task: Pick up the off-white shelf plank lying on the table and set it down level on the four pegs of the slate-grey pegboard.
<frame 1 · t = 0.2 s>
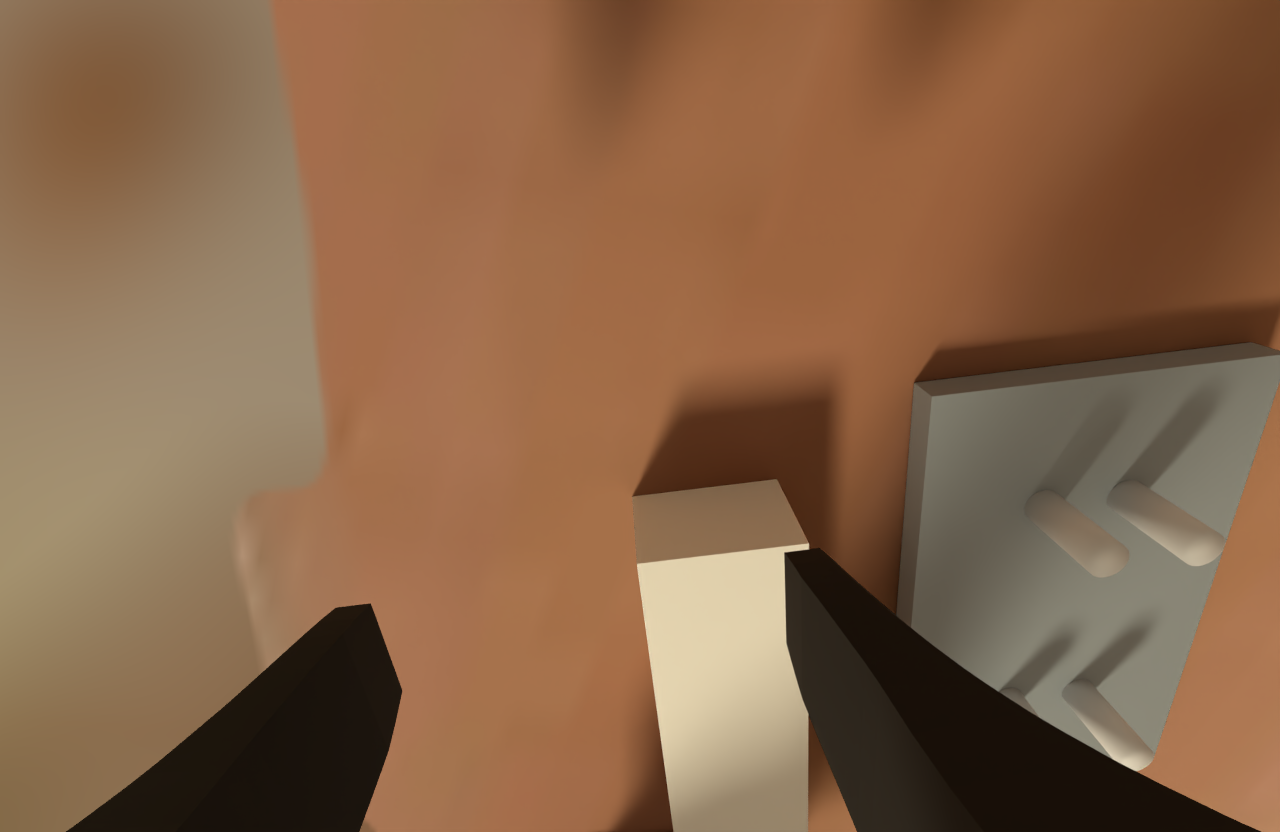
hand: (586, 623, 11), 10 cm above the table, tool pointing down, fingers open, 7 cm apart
shelf plank: (715, 636, 24), on the table
pegboard: (1040, 584, 24), on the table
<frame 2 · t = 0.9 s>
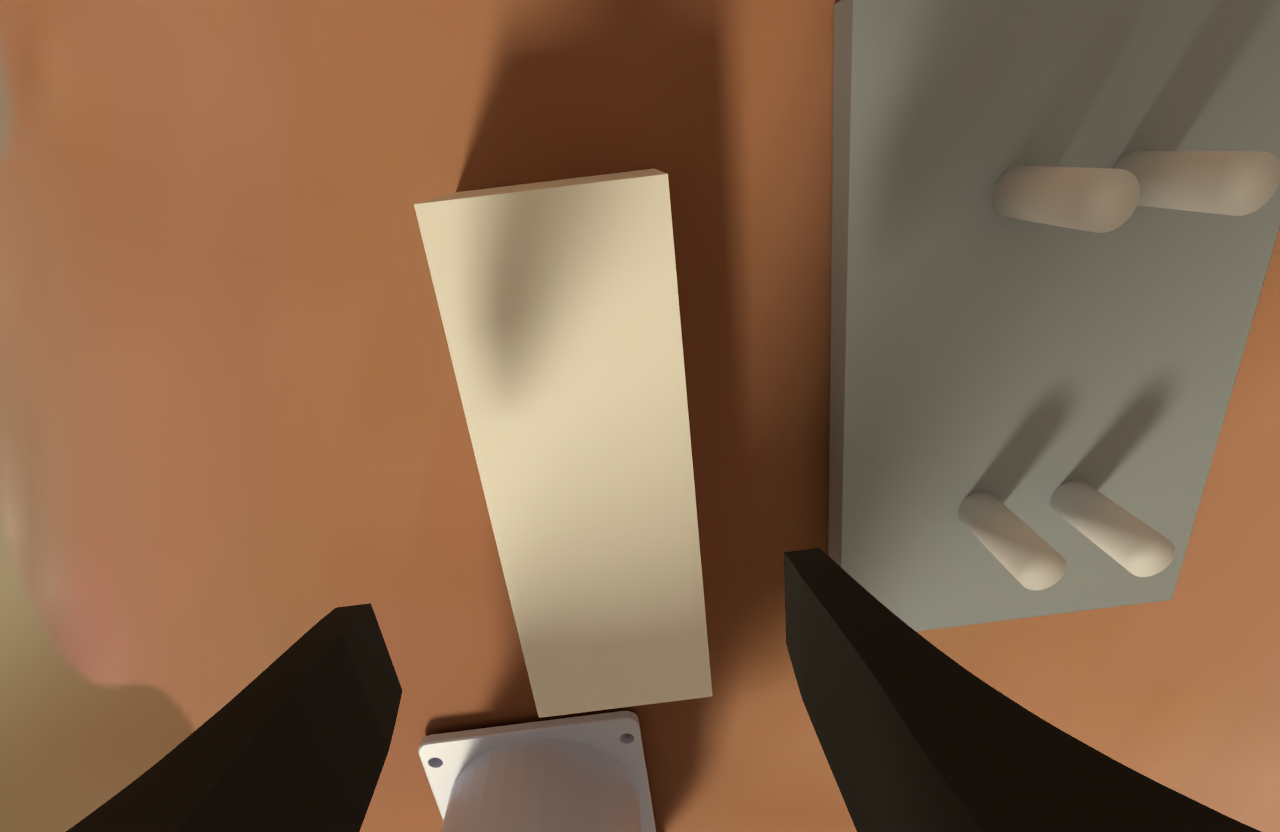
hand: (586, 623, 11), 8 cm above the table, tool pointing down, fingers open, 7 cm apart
shelf plank: (594, 427, 19), on the table
pegboard: (1019, 347, 18), on the table
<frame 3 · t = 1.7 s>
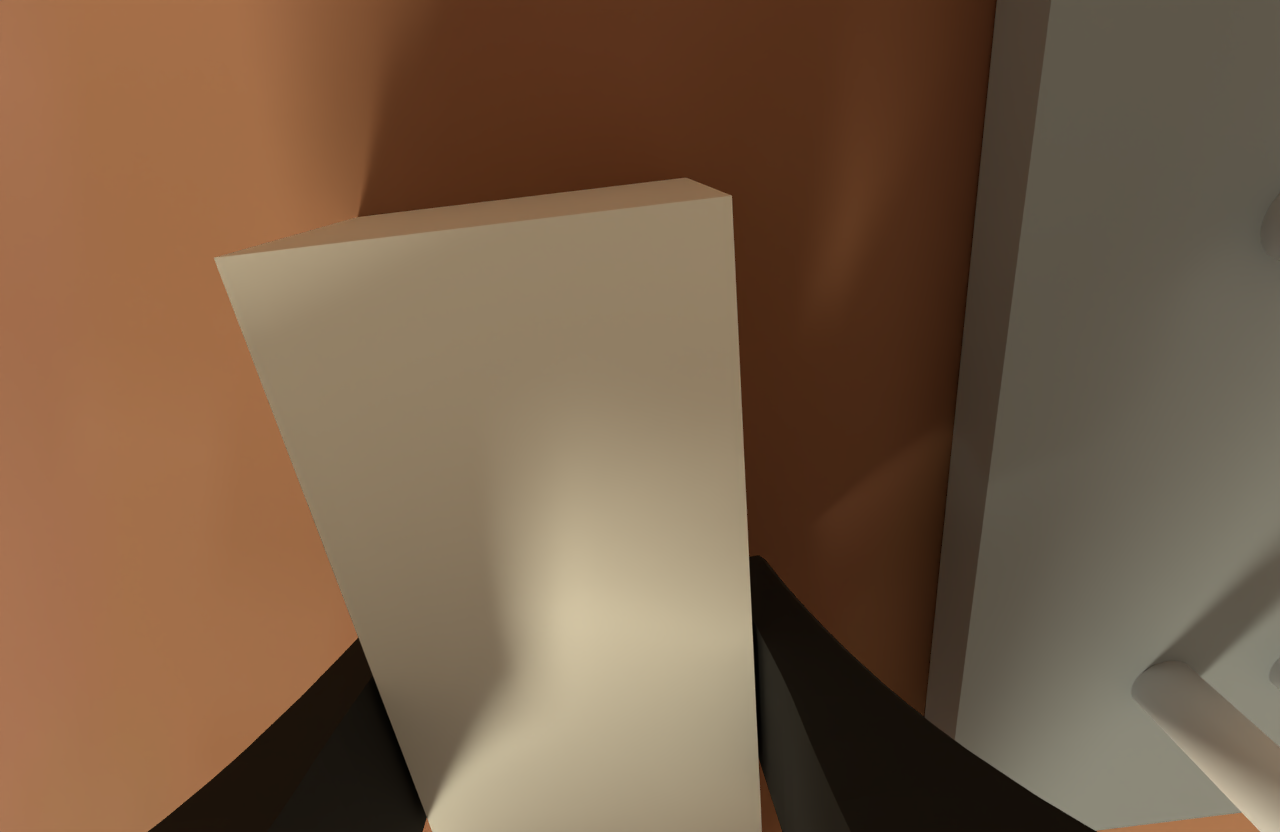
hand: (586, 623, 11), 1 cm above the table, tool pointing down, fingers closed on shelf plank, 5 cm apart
shelf plank: (588, 563, 12), on the table, touching gripper
pegboard: (1236, 449, 12), on the table
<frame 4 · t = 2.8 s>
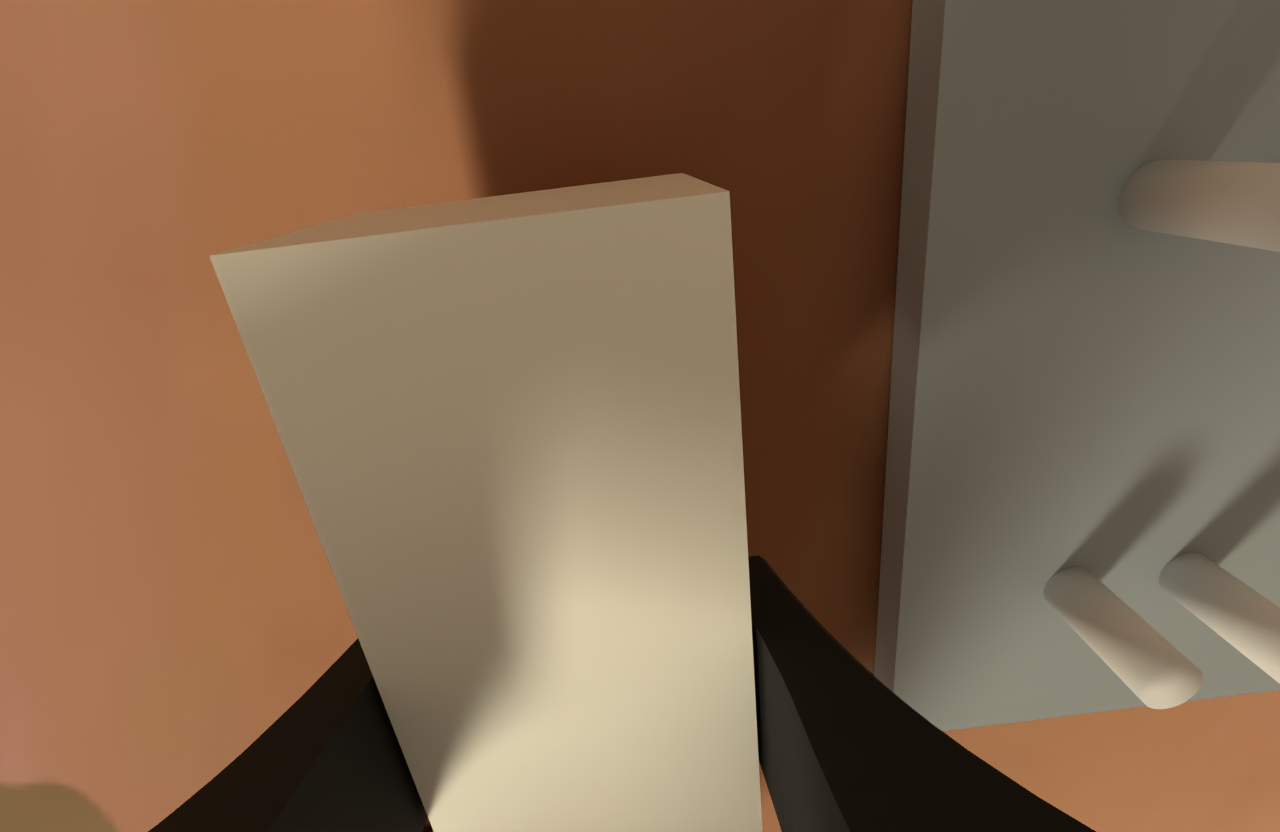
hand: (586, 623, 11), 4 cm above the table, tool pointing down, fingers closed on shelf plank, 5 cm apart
shelf plank: (588, 561, 12), point 2 cm above the table, touching gripper
pegboard: (1126, 389, 14), on the table
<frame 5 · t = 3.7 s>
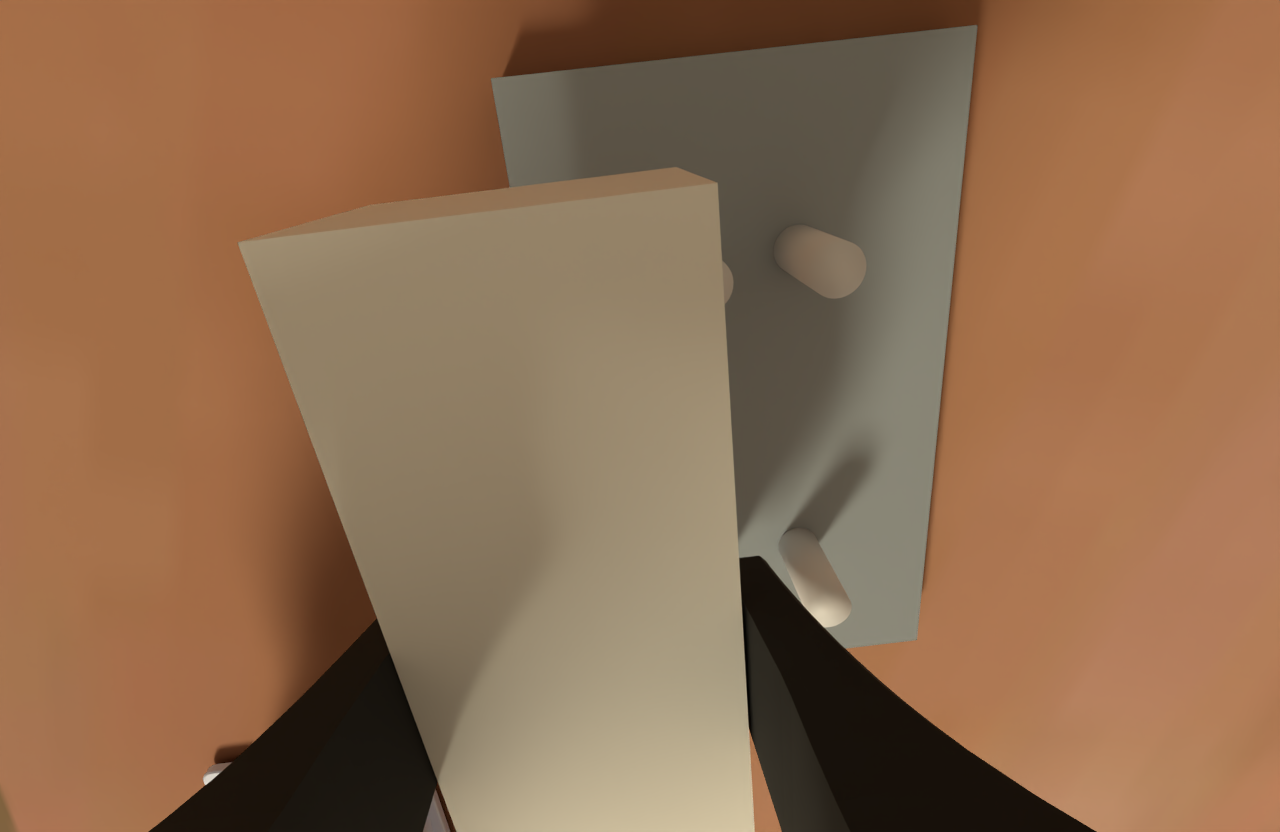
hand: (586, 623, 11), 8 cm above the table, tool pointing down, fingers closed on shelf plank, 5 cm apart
shelf plank: (586, 540, 13), point 6 cm above the table, touching gripper
pegboard: (739, 401, 19), on the table
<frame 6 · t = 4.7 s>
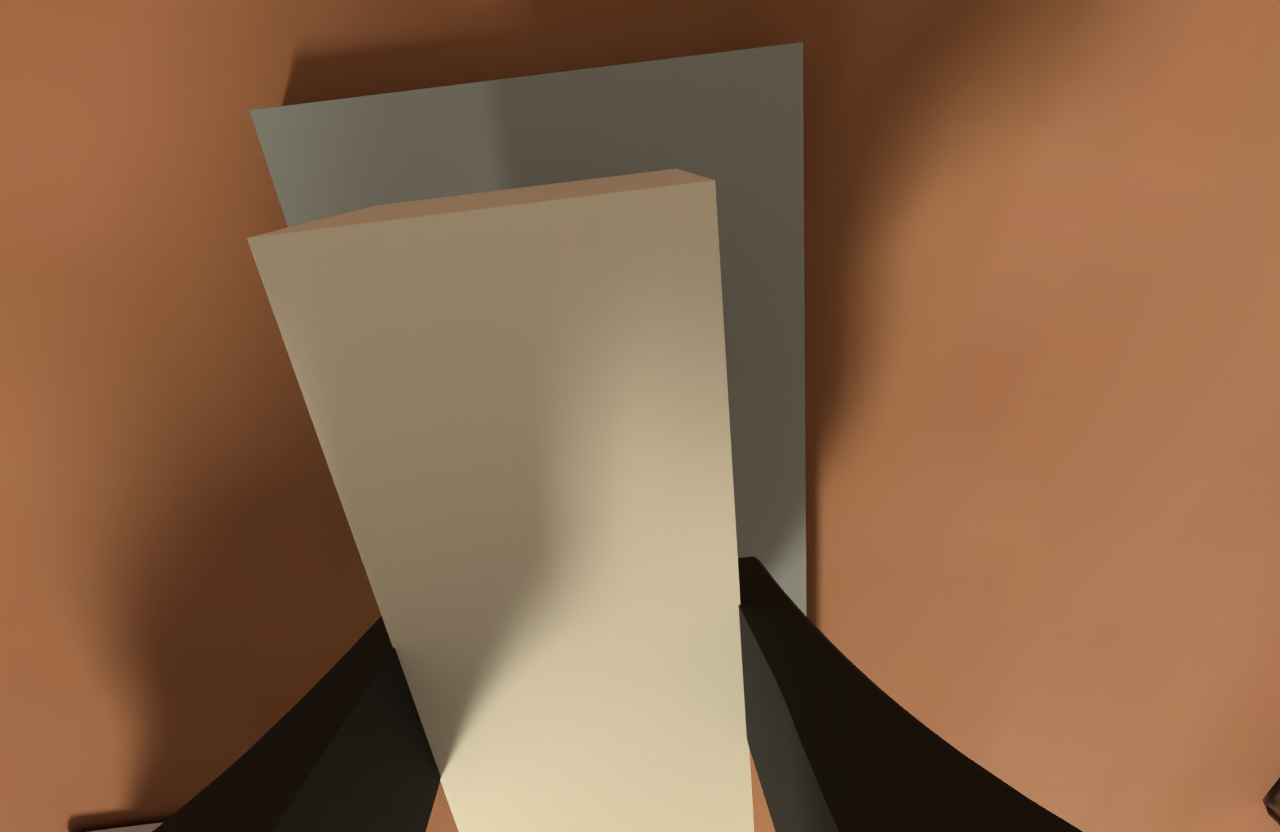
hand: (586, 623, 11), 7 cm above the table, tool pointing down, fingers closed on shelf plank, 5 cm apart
shelf plank: (587, 539, 13), point 4 cm above the table, touching gripper, pegboard
pegboard: (592, 452, 17), on the table
when the fingers open (7 cm above the table, at t = 4.9 s): shelf plank stays where it is, resting on pegboard.
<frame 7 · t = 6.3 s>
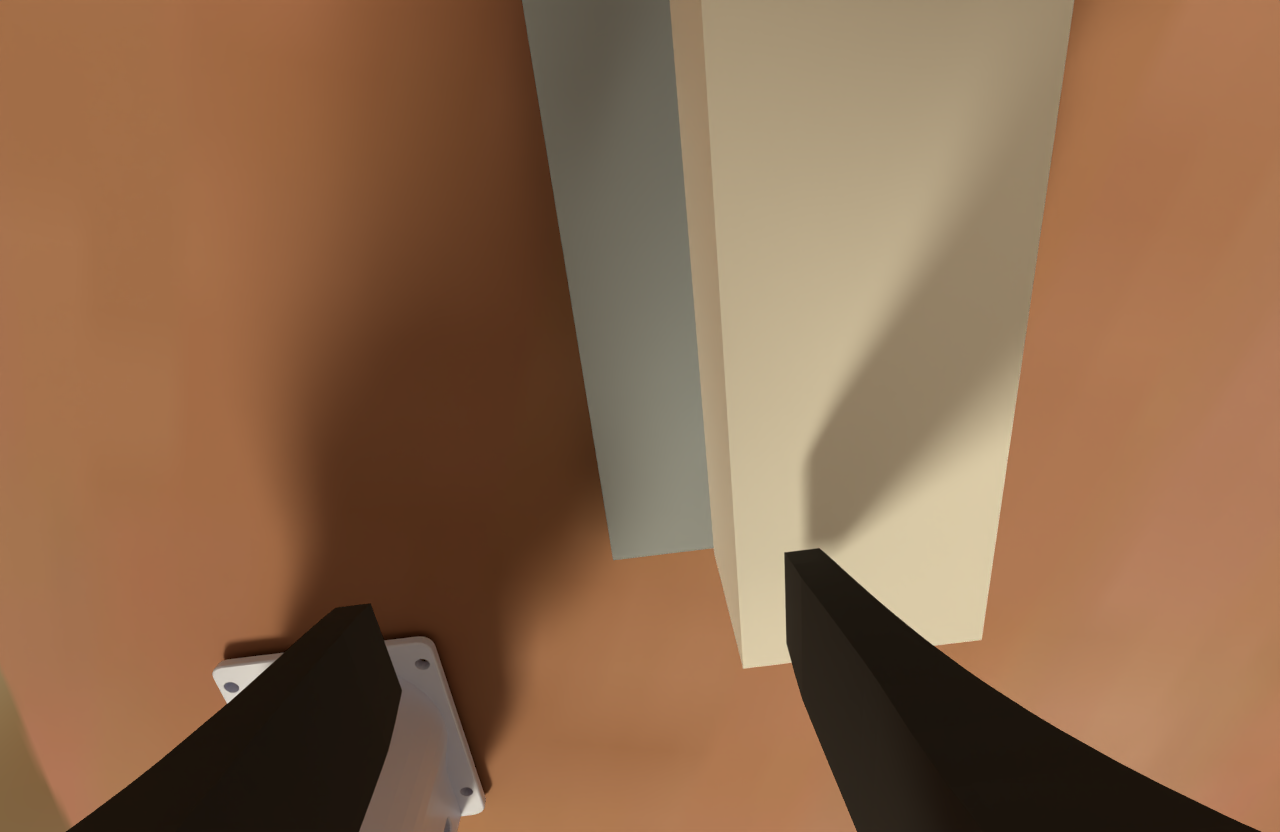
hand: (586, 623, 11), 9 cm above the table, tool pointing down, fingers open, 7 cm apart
shelf plank: (805, 281, 14), point 4 cm above the table, touching pegboard
pegboard: (763, 253, 18), on the table
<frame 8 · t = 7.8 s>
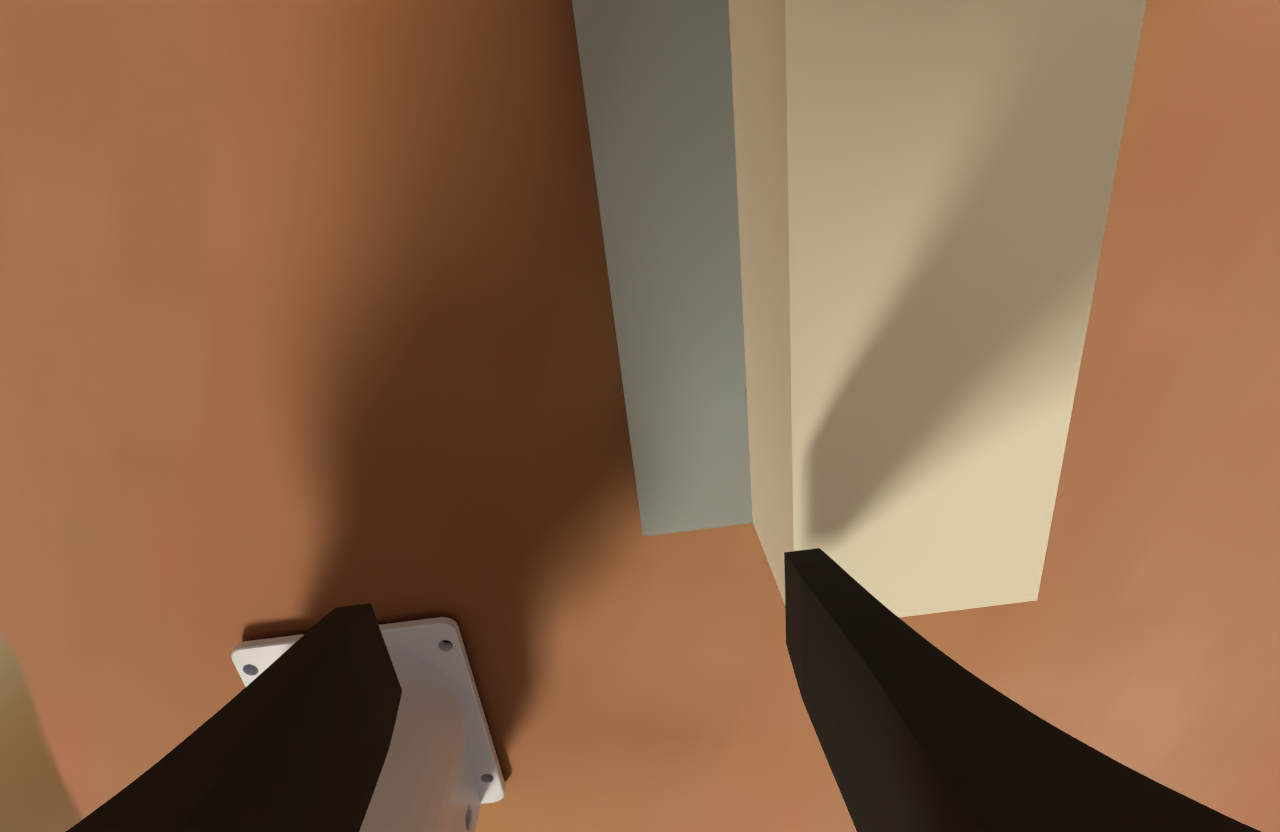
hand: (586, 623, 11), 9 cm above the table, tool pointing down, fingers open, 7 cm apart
shelf plank: (853, 238, 14), point 4 cm above the table, touching pegboard
pegboard: (799, 222, 17), on the table
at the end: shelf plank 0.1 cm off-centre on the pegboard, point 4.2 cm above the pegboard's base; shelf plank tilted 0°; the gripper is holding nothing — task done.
